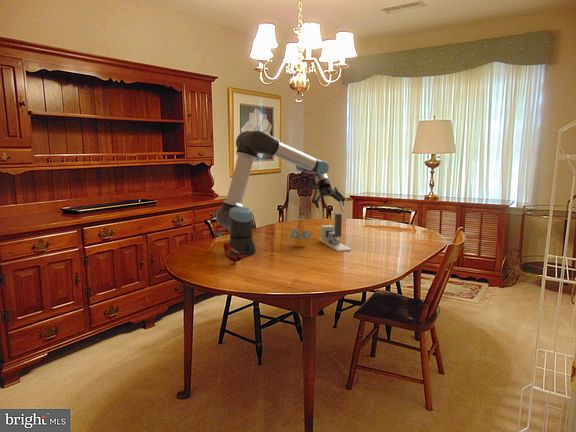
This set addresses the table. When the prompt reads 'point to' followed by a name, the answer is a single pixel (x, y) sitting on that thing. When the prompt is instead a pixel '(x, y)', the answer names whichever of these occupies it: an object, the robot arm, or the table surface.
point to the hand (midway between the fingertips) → (332, 211)
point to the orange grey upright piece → (301, 233)
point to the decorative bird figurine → (232, 254)
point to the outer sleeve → (332, 239)
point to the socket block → (323, 231)
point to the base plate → (336, 246)
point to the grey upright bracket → (337, 227)
